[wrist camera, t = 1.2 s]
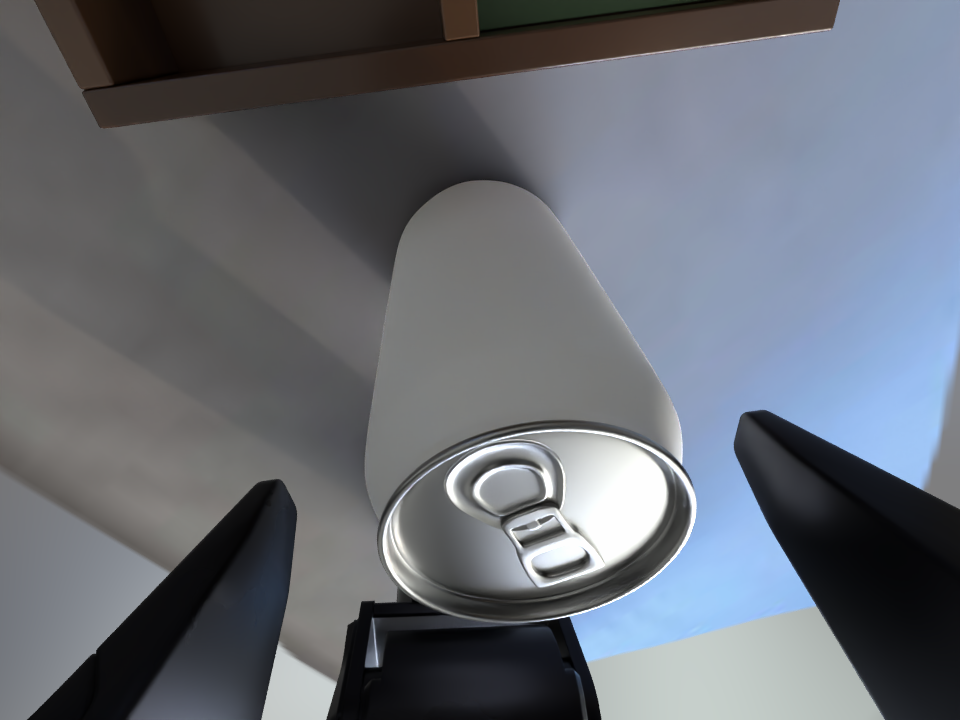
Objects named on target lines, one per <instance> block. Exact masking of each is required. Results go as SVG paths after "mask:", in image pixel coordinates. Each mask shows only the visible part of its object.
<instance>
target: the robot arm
mask: <svg viewBox="0 0 960 720" xmlns="http://www.w3.org/2000/svg"><path fill="white" fill-rule="evenodd" d="M734 451H735V454H736V457H737V459H738V461H739V463H740V465H741V467H742V470H743V472H744V474H745V476H746V478H747V480H748V483H749V485H750V487H751V489H752V491H753V493H754V496H755V498H756V500H757V502H758V504H759V506H760V509H761V511H762V513H763V515H764V517H765V519H766V521H767V523H768V525H769V527H770V528H771V530H772V532H773V534H774V536H775V537H776V539H777V541H778V542H779V544H780V546H781V547H782V549H783V551H784V552H785V554H786V556H787V557H788V559H789V561H790V562H791V564H792V566H793V567H794V569H795V571H796V572H797V574H798V576H799V577H800V579H801V581H802V582H803V584H804V586H805V587H806V589H807V591H808V592H809V594H810V596H811V597H812V599H813V601H814V602H815V604H816V606H817V607H818V609H819V611H820V612H821V614H822V616H823V617H824V619H825V621H826V622H827V624H828V626H829V627H830V629H831V631H832V632H833V634H834V636H835V637H836V639H837V641H838V642H839V644H840V646H841V647H842V649H843V651H844V652H845V654H846V656H847V657H848V659H849V661H850V662H851V664H852V666H853V668H854V669H855V671H856V673H857V674H858V676H859V678H860V679H861V681H862V682H863V684H864V686H865V687H866V689H867V691H868V692H869V694H870V696H871V698H872V699H873V701H874V702H875V704H876V706H877V708H878V709H879V711H880V713H881V714H882V716H883V717H884V719H885V720H960V509H958V508H956V507H954V506H952V505H950V504H948V503H946V502H944V501H943V500H941V499H939V498H936V497H935V496H933V495H931V494H929V493H927V492H925V491H923V490H921V489H919V488H917V487H915V486H913V485H911V484H909V483H907V482H905V481H904V480H902V479H900V478H898V477H896V476H894V475H892V474H890V473H888V472H886V471H884V470H882V469H880V468H878V467H876V466H874V465H872V464H870V463H868V462H867V461H865V460H863V459H861V458H859V457H857V456H855V455H853V454H851V453H849V452H847V451H845V450H843V449H841V448H839V447H837V446H835V445H833V444H831V443H829V442H828V441H826V440H824V439H822V438H820V437H818V436H816V435H814V434H812V433H810V432H808V431H806V430H804V429H802V428H800V427H798V426H796V425H794V424H792V423H790V422H789V421H787V420H785V419H783V418H781V417H779V416H777V415H775V414H773V413H771V412H769V411H766V410H758V411H751V412H745V413H743V414H742V416H741V417H740V420H739V424H738V428H737V432H736V436H735V440H734ZM296 521H297V510H296V506H295V504H294V502H293V500H292V498H291V496H290V494H289V492H288V490H287V488H286V486H285V484H284V483H283V482H282V481H281V480H280V479H274V480H267V481H261V482H259V483H257V484H256V485H255V486H254V487H253V488H252V489H251V490H250V491H249V492H248V493H247V494H246V495H245V496H244V497H243V498H242V499H241V500H240V501H239V502H238V503H237V504H236V505H235V506H234V507H233V509H232V510H231V511H230V512H229V513H228V514H227V515H226V516H225V517H224V518H223V519H222V520H221V521H220V522H219V523H218V524H217V525H216V526H215V527H214V528H213V529H212V530H211V531H210V532H209V533H208V534H207V536H206V537H205V538H204V539H203V540H202V541H201V542H200V543H199V544H198V545H197V546H196V547H195V548H194V549H193V550H192V551H191V552H190V553H189V554H188V555H187V556H186V557H185V558H184V559H183V560H182V561H181V562H180V564H179V565H178V566H177V567H176V568H175V569H174V570H173V571H172V572H171V573H170V574H169V575H168V576H167V577H166V578H165V579H164V580H163V581H162V582H161V583H160V584H159V586H157V587H156V589H155V590H154V591H153V592H152V593H151V594H150V595H149V596H148V597H147V598H146V599H145V600H144V601H143V602H142V603H141V604H140V605H139V606H138V607H137V608H136V609H135V610H134V611H133V612H132V613H131V614H130V616H128V618H127V619H126V620H125V621H124V622H123V623H122V624H121V625H120V626H119V627H118V628H117V629H116V630H115V631H114V632H113V633H112V634H111V635H110V636H109V637H108V638H107V639H106V640H105V641H104V642H103V643H102V644H101V646H100V647H99V648H98V649H97V650H96V654H92V655H91V656H90V657H89V658H88V659H87V660H86V661H85V662H84V663H83V664H82V665H81V666H80V667H79V668H78V669H77V670H76V671H75V672H74V673H73V674H72V675H71V676H70V677H69V678H68V680H67V681H65V683H63V685H62V686H61V687H60V688H59V689H58V690H57V691H56V692H55V693H54V694H53V695H52V696H51V697H50V698H49V699H48V700H47V701H46V702H45V703H44V704H43V705H42V706H41V707H40V708H39V709H38V710H37V711H36V712H35V713H34V714H33V715H32V716H30V718H29V719H27V720H261V718H262V713H263V709H264V704H265V700H266V695H267V691H268V686H269V681H270V677H271V672H272V668H273V663H274V659H275V654H276V650H277V645H278V641H279V636H280V631H281V627H282V622H283V618H284V613H285V609H286V604H287V599H288V593H289V586H290V578H291V568H292V559H293V550H294V540H295V531H296ZM326 720H601V714H600V709H599V703H598V698H597V694H596V690H595V686H594V683H593V680H592V677H591V674H590V671H589V669H588V666H587V663H586V660H585V658H584V655H583V652H582V649H581V647H580V644H579V641H578V639H577V636H576V633H575V630H574V628H573V625H572V622H571V620H570V617H569V616H568V617H563V618H558V619H553V620H547V621H539V622H529V623H489V622H479V621H472V620H467V619H462V618H457V617H454V616H450V615H447V614H444V613H441V612H438V611H435V610H433V609H431V608H428V607H426V606H424V605H422V604H420V603H419V602H417V601H415V600H414V599H412V598H411V597H409V596H408V595H407V594H405V593H404V592H403V591H402V590H401V589H399V588H398V589H397V602H392V603H375V601H362V602H361V607H360V613H359V618H358V619H357V620H354V622H352V623H351V624H349V625H348V628H347V635H346V642H345V649H344V656H343V661H342V667H341V671H340V674H339V678H338V681H337V685H336V688H335V692H334V695H333V699H332V702H331V706H330V709H329V712H328V716H327V719H326Z"/></svg>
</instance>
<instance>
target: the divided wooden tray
mask: <svg viewBox="0 0 960 720" xmlns="http://www.w3.org/2000/svg"><path fill="white" fill-rule="evenodd" d="M34 1H35V3H36V5H37V7H38V9H39V11H40V12H41V14H42V16H43V18H44V20H45V22H46V24H47V26H48V28H49V30H50V32H51V34H52V36H53V38H54V39H55V41H56V43H57V45H58V47H59V49H60V51H61V53H62V55H63V57H64V59H65V61H66V63H67V65H68V67H69V68H70V70H71V72H72V74H73V76H74V78H75V80H76V82H77V84H78V86H79V87H80V88H81V89H84V91H83V92H82V94H83V96H84V98H85V100H86V102H87V104H88V106H89V108H90V110H91V112H92V114H93V115H94V117H95V119H96V121H97V123H98V125H99V127H100V128H103V129H105V128H113V127H120V126H128V125H135V124H142V123H150V122H157V121H165V120H172V119H179V118H187V117H194V116H202V115H209V114H217V113H224V112H231V111H239V110H246V109H254V108H261V107H268V106H276V105H283V104H291V103H298V102H305V101H313V100H320V99H328V98H335V97H342V96H350V95H357V94H365V93H372V92H379V91H387V90H394V89H402V88H409V87H416V86H424V85H431V84H439V83H446V82H453V81H461V80H468V79H476V78H483V77H490V76H498V75H505V74H513V73H520V72H527V71H535V70H542V69H550V68H557V67H564V66H572V65H579V64H587V63H594V62H601V61H609V60H616V59H624V58H631V57H638V56H646V55H653V54H661V53H668V52H675V51H683V50H690V49H698V48H705V47H712V46H720V45H727V44H735V43H742V42H749V41H757V40H764V39H772V38H779V37H786V36H794V35H801V34H809V33H816V32H823V31H829V30H831V29H832V28H833V25H834V22H835V18H836V14H837V10H838V6H839V2H840V0H34Z"/></svg>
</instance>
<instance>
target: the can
mask: <svg viewBox="0 0 960 720" xmlns="http://www.w3.org/2000/svg"><path fill="white" fill-rule="evenodd" d="M365 483H366V488H367V492H368V495H369V499H370V501H371V504H372V507H373V509H374V511H375V514H376V516H377V518H378V520H379V526H378V533H377V546H378V553H379V557H380V560H381V563H382V565H383V567H384V569H385V571H386V573H387V574H388V576H389V577H390V579H391V580H392V581H393V582H394V583H395V585H396V586H397V587H398V588H399V589H401V590H402V591H403V592H404V593H405V594H407V595H408V596H409V597H411V598H412V599H414V600H415V601H417V602H419V603H420V604H422V605H424V606H426V607H428V608H431V609H433V610H435V611H438V612H441V613H444V614H447V615H450V616H454V617H457V618H462V619H467V620H472V621H479V622H489V623H529V622H539V621H547V620H553V619H558V618H563V617H568V616H572V615H576V614H579V613H583V612H586V611H589V610H592V609H595V608H598V607H601V606H603V605H606V604H608V603H611V602H613V601H615V600H617V599H619V598H621V597H623V596H625V595H627V594H629V593H631V592H633V591H634V590H636V589H638V588H639V587H641V586H642V585H644V584H645V583H647V582H648V581H650V580H651V579H652V578H654V577H655V576H656V575H657V574H659V573H660V572H661V571H662V570H663V569H664V568H665V567H666V566H667V565H668V564H669V563H670V562H671V561H672V560H673V559H674V558H675V557H676V556H677V554H678V553H679V552H680V550H681V549H682V547H683V546H684V544H685V543H686V541H687V539H688V537H689V535H690V533H691V530H692V528H693V525H694V521H695V516H696V495H695V491H694V487H693V484H692V481H691V479H690V477H689V475H688V473H687V472H686V470H685V469H684V467H683V466H682V433H681V427H680V422H679V419H678V415H677V413H676V410H675V408H674V406H673V403H672V401H671V399H670V397H669V395H668V393H667V391H666V390H665V388H664V386H663V384H662V383H661V381H660V379H659V377H658V376H657V374H656V372H655V371H654V369H653V367H652V366H651V364H650V363H649V361H648V359H647V358H646V356H645V354H644V353H643V351H642V350H641V348H640V346H639V345H638V343H637V342H636V340H635V338H634V337H633V335H632V334H631V332H630V330H629V329H628V327H627V326H626V324H625V322H624V321H623V319H622V318H621V316H620V315H619V313H618V311H617V310H616V308H615V307H614V305H613V303H612V302H611V300H610V299H609V297H608V296H607V294H606V292H605V291H604V289H603V288H602V286H601V285H600V283H599V281H598V280H597V278H596V277H595V275H594V274H593V272H592V270H591V269H590V267H589V266H588V264H587V263H586V261H585V260H584V258H583V256H582V255H581V253H580V252H579V250H578V249H577V247H576V246H575V244H574V243H573V241H572V239H571V238H570V236H569V235H568V233H567V232H566V230H565V229H564V227H563V226H562V224H561V223H560V221H559V220H558V218H557V217H556V216H555V214H554V213H553V212H552V211H551V209H550V208H549V207H548V206H547V205H546V204H545V203H544V202H543V201H541V200H540V199H539V198H538V197H536V196H535V195H533V194H532V193H530V192H529V191H527V190H525V189H523V188H520V187H518V186H515V185H512V184H509V183H505V182H500V181H490V180H477V181H468V182H463V183H459V184H456V185H454V186H451V187H449V188H447V189H445V190H443V191H442V192H440V193H438V194H437V195H435V196H434V197H433V198H431V199H430V200H429V201H428V202H426V203H425V204H424V205H423V206H422V207H421V208H420V209H419V210H418V211H417V212H416V213H415V214H414V215H413V217H412V218H411V219H410V221H409V222H408V224H407V225H406V227H405V229H404V231H403V234H402V236H401V239H400V242H399V245H398V249H397V253H396V258H395V263H394V269H393V275H392V281H391V286H390V292H389V299H388V305H387V311H386V317H385V323H384V329H383V335H382V341H381V348H380V354H379V360H378V366H377V373H376V379H375V386H374V392H373V398H372V405H371V412H370V419H369V425H368V432H367V441H366V450H365Z"/></svg>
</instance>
